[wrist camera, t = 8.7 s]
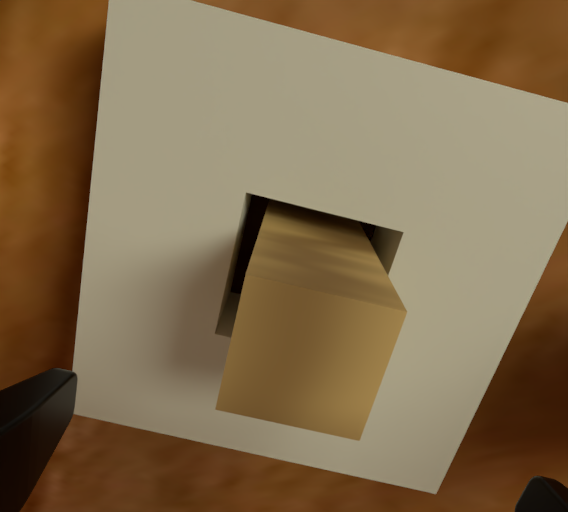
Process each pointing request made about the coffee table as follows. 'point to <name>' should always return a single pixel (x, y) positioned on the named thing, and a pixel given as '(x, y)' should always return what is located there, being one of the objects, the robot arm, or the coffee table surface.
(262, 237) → the peg
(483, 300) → the socket block
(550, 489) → the robot arm
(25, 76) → the coffee table surface
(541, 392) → the coffee table surface
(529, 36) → the coffee table surface
